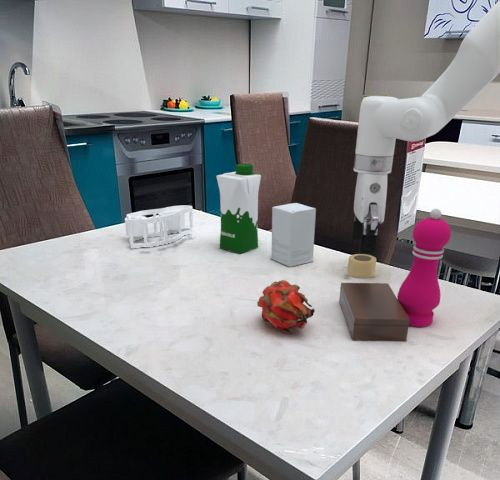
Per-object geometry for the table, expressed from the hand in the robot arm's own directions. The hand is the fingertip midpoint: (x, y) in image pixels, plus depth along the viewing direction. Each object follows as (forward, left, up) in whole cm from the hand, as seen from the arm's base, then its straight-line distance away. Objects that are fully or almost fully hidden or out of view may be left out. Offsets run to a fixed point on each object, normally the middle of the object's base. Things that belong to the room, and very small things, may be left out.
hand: (362, 245), depth 110 cm
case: (+2, +24, -6) cm, 25 cm away
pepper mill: (-6, +24, -6) cm, 25 cm away
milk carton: (+28, -17, -7) cm, 33 cm away
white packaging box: (+15, -8, -7) cm, 18 cm away
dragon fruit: (+18, +27, -7) cm, 33 cm away
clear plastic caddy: (+49, -24, -7) cm, 55 cm away
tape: (0, 0, -6) cm, 6 cm away
